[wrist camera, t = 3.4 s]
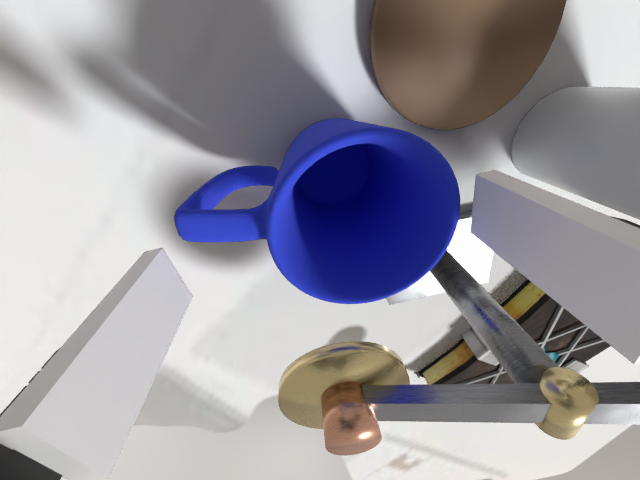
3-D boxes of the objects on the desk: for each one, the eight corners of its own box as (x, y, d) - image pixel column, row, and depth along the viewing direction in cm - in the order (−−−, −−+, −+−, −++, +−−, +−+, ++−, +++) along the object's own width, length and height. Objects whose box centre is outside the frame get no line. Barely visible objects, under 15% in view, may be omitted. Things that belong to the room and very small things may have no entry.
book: (489, 394, 41) (513, 430, 37) (410, 371, 36) (427, 411, 31) (622, 302, 33) (673, 335, 28) (546, 252, 27) (595, 284, 23)
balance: (270, 258, 23) (246, 521, 9) (604, 179, 23) (1100, 332, 9) (293, 319, 27) (301, 563, 13) (575, 253, 27) (881, 436, 13)
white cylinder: (520, 98, 18) (686, 110, 11) (610, 76, 18) (842, 73, 11) (504, 183, 22) (623, 239, 14) (580, 166, 22) (741, 212, 14)
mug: (209, 102, 17) (127, 124, 8) (394, 106, 18) (492, 129, 9) (228, 219, 21) (188, 315, 12) (377, 216, 22) (434, 300, 14)
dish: (359, -82, 13) (365, -96, 12) (576, -137, 13) (600, -155, 12) (377, 143, 19) (383, 146, 18) (528, 107, 19) (542, 108, 18)
